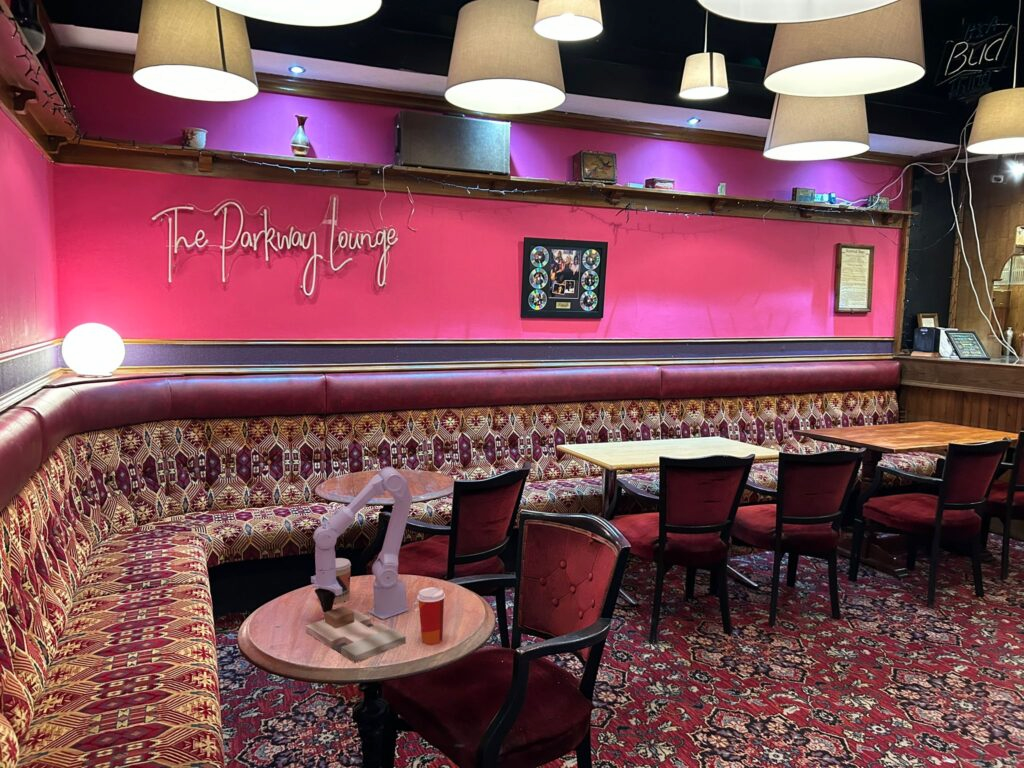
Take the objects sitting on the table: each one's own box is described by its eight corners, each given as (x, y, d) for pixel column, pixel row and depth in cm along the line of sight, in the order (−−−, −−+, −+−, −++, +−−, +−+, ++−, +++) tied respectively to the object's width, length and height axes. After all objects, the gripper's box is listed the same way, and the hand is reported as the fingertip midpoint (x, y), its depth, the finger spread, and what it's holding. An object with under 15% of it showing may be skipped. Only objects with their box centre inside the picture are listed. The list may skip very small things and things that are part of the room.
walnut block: (343, 616, 213) (342, 606, 213) (354, 622, 209) (354, 612, 208) (325, 622, 209) (324, 612, 209) (336, 628, 205) (335, 618, 204)
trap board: (354, 615, 218) (354, 609, 218) (405, 643, 200) (405, 636, 199) (306, 632, 207) (305, 625, 207) (355, 663, 188) (355, 655, 188)
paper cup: (432, 632, 206) (431, 584, 205) (451, 639, 201) (450, 590, 200) (412, 641, 200) (410, 593, 199) (431, 649, 195) (430, 599, 194)
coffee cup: (334, 607, 224) (333, 569, 223) (315, 600, 230) (314, 563, 229) (358, 597, 232) (357, 561, 231) (339, 591, 237) (337, 555, 236)
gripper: (301, 564, 215) (302, 608, 216) (326, 577, 204) (327, 623, 206) (322, 559, 219) (324, 602, 221) (348, 570, 209) (349, 616, 210)
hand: (327, 612), depth 214 cm, fingers closed
